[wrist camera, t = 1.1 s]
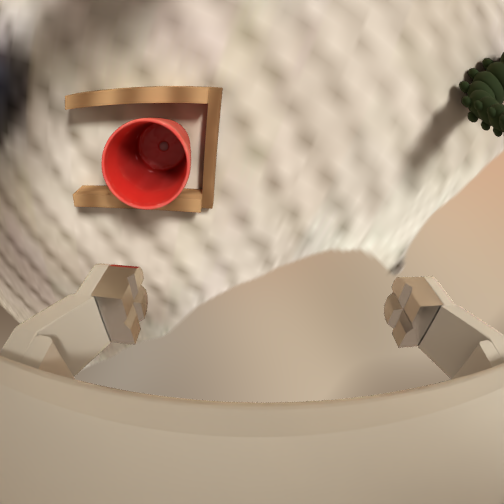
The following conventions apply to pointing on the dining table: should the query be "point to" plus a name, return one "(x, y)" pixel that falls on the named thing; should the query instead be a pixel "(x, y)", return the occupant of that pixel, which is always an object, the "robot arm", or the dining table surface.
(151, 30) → the dining table surface
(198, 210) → the brown wooden u-shaped frame
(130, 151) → the flower pot
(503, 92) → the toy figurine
